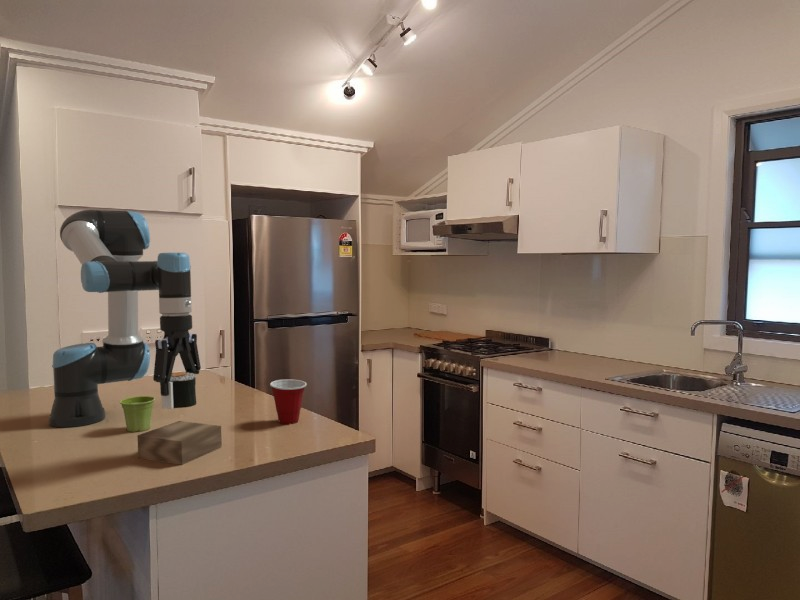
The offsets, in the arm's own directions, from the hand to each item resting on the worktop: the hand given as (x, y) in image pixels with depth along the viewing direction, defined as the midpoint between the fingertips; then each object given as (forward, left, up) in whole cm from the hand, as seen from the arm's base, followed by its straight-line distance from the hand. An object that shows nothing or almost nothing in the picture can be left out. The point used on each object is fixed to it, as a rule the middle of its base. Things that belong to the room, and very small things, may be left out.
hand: (179, 403), depth 146 cm
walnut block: (0, 0, -13) cm, 13 cm away
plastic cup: (+15, +32, -13) cm, 38 cm away
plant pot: (-25, +16, -13) cm, 32 cm away
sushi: (0, 0, 0) cm, 0 cm away
